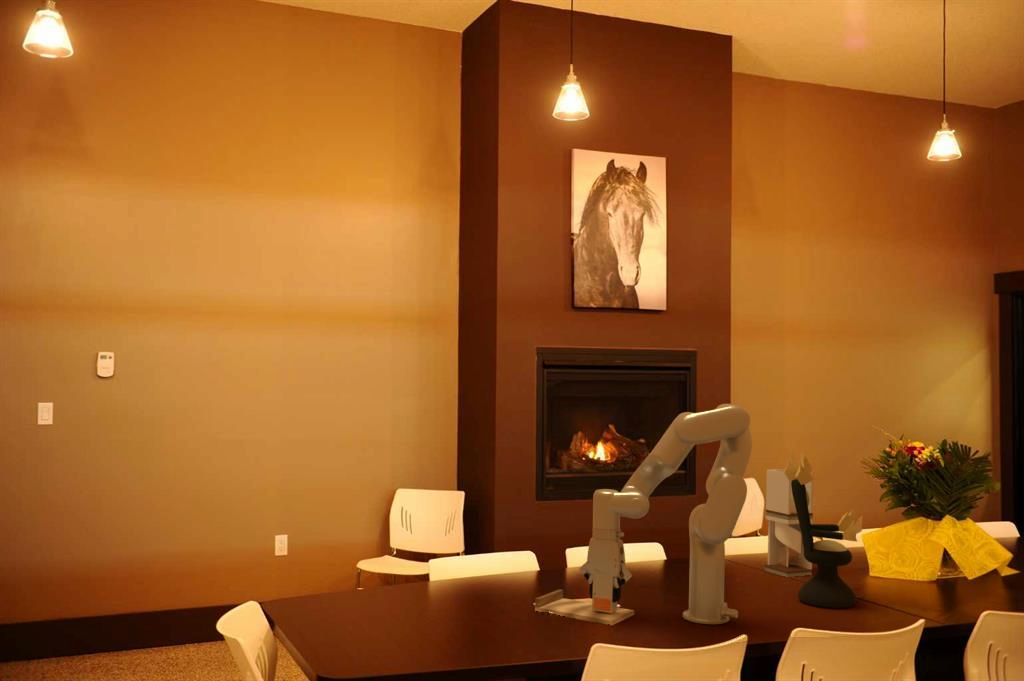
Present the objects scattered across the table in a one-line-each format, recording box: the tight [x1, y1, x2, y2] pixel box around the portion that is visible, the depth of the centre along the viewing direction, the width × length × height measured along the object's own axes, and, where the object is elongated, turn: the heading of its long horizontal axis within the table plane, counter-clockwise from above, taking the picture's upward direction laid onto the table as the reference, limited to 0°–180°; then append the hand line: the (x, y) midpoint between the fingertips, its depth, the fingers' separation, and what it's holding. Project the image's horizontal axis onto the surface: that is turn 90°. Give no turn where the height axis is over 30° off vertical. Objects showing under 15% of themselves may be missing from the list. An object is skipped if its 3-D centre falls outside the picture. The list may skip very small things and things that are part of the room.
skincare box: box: [591, 568, 618, 613], centre depth 267 cm, size 6×4×12 cm
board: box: [534, 589, 635, 626], centre depth 270 cm, size 24×14×4 cm, turn 58°
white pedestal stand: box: [764, 468, 814, 578], centre depth 332 cm, size 11×11×35 cm
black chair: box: [784, 451, 864, 609], centre depth 291 cm, size 19×22×45 cm
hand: (604, 599), depth 267 cm, fingers closed on skincare box, 6 cm apart
